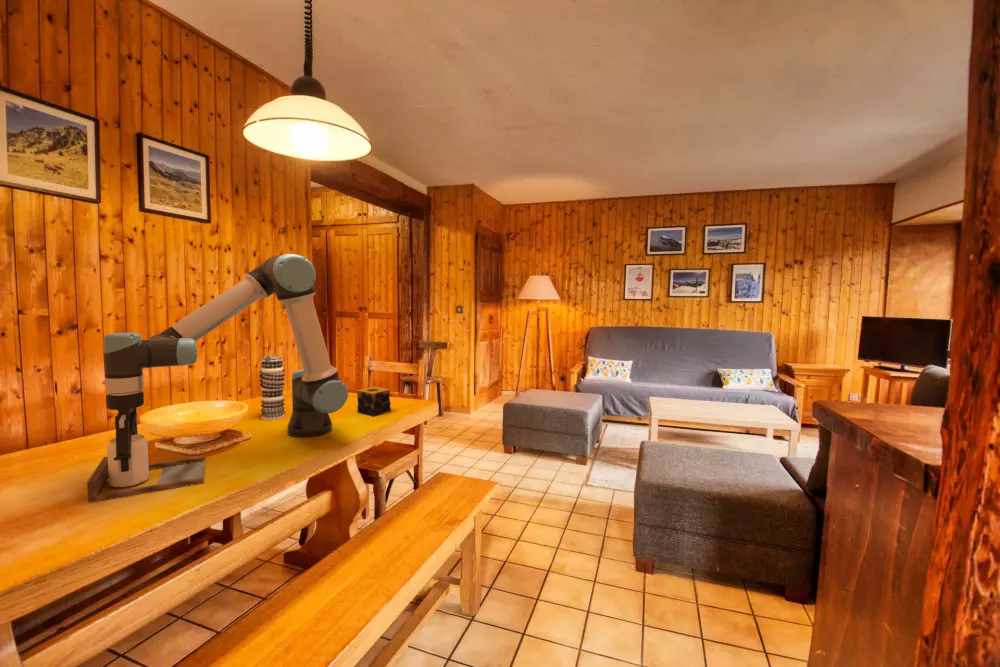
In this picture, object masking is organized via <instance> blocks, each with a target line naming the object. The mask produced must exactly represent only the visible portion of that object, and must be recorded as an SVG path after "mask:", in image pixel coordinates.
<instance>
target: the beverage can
mask: <svg viewBox="0 0 1000 667" xmlns="http://www.w3.org/2000/svg"><path fill="white" fill-rule="evenodd" d="M148 445H149V444H148V439H147V438H146V436H145V434H139V433H138V434H135V435H132V436H131V457H132V463H133V482H130V483H123V484H119V470H118V460H114V458H116V437H114V438H111V439H110V440H109V443H108V445H107V446H106V449H107V450H106V452H107V457H108V473H109V480H108V484H109V486H110V487H111V488H112V487H113V488H117V487H124V488H128V487H127V486H131V487H134V486H137V485H136V484H138V485H139V483H140V484H142V483H144V482H145V481H147V480H148V479H149V478H150V472H149V470H150V469H149V466H148V464H149V450H148V449H149V446H148ZM141 482H142V483H141ZM133 485H134V486H133Z"/></svg>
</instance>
